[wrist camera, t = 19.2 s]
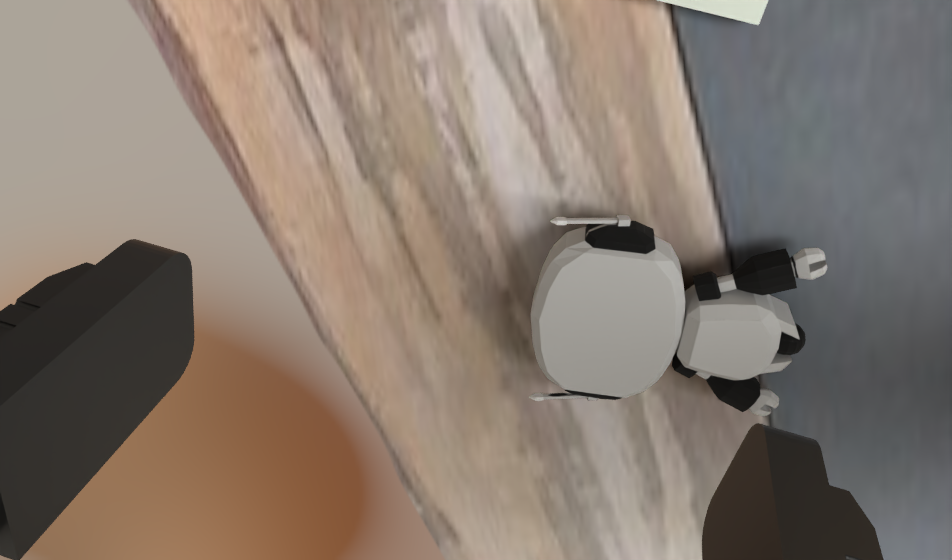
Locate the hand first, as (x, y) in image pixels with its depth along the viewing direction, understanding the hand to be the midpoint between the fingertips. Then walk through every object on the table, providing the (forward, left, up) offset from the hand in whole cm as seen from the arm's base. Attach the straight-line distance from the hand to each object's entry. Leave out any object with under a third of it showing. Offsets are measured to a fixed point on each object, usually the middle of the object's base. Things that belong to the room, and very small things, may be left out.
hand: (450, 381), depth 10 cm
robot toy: (-8, +16, -30) cm, 35 cm away
